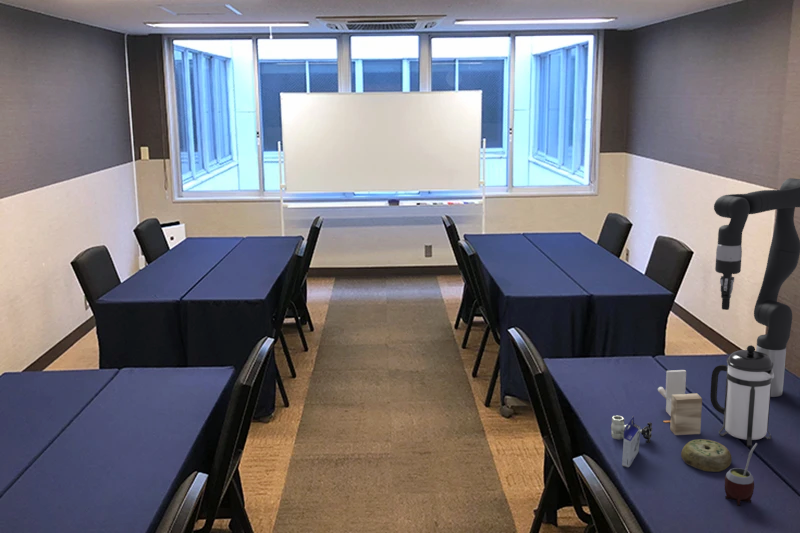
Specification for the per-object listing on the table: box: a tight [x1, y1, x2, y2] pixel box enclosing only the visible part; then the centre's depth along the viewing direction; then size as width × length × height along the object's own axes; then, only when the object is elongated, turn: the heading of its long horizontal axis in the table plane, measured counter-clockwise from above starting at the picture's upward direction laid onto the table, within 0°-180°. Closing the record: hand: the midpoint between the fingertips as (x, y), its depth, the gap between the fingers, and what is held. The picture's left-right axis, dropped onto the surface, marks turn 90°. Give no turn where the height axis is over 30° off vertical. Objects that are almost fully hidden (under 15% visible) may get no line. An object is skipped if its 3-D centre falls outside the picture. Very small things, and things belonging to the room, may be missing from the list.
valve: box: [610, 415, 653, 444], centre depth 228 cm, size 7×7×12 cm
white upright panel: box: [665, 369, 687, 417], centre depth 236 cm, size 4×6×14 cm, turn 92°
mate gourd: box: [724, 442, 758, 507], centre depth 191 cm, size 8×8×15 cm
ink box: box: [621, 415, 641, 468], centre depth 215 cm, size 12×2×12 cm, turn 148°
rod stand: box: [657, 386, 703, 436], centre depth 239 cm, size 23×8×12 cm, turn 2°
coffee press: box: [709, 345, 774, 448], centre depth 224 cm, size 17×16×30 cm
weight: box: [680, 438, 733, 473], centre depth 213 cm, size 14×13×5 cm
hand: (725, 309), depth 239 cm, fingers closed
